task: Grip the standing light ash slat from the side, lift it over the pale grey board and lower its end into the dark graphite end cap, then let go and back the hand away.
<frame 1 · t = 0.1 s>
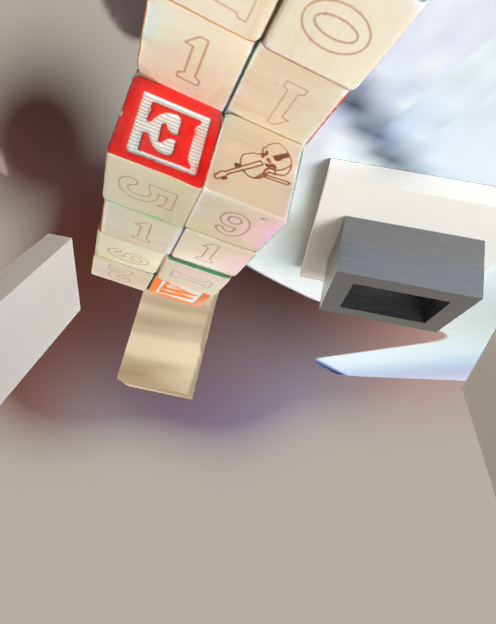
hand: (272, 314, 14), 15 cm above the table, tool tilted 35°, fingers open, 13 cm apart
base board: (398, 236, 36), on the table
end cap: (397, 253, 36), resting on base board
ash slat: (207, 201, 38), on the table
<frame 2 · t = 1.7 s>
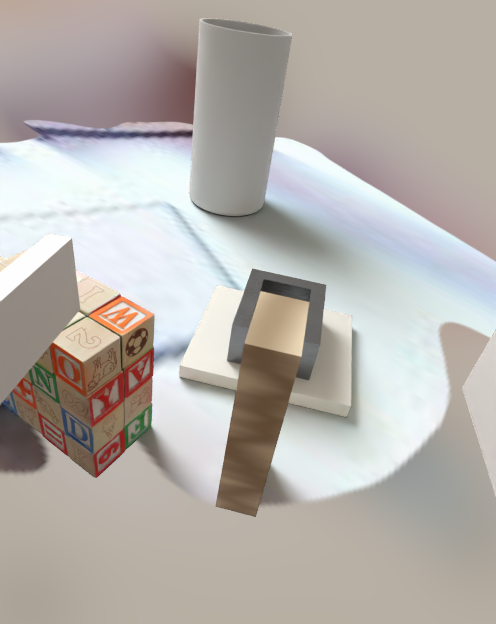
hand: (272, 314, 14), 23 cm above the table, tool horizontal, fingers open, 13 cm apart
base board: (272, 348, 47), on the table
end cap: (275, 337, 46), resting on base board
stack of blocks: (37, 389, 39), on the table
ash slat: (242, 481, 35), on the table
cylinder vase: (226, 202, 75), on the table
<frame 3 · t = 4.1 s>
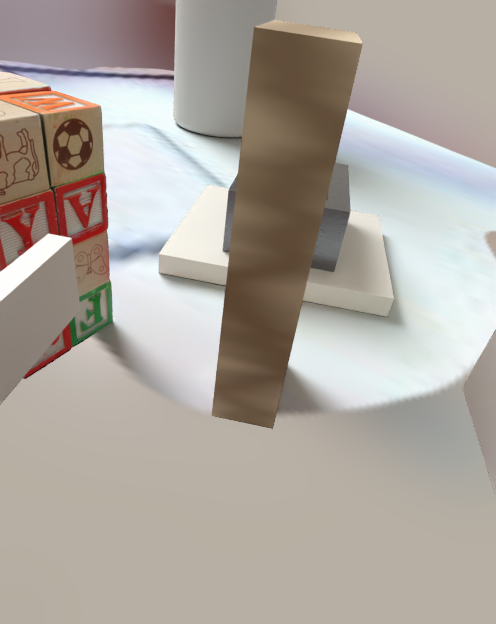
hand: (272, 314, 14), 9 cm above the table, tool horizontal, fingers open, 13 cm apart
base board: (281, 248, 37), on the table
end cap: (284, 231, 36), resting on base board
ash slat: (250, 385, 24), on the table
cylinder vase: (216, 127, 65), on the table
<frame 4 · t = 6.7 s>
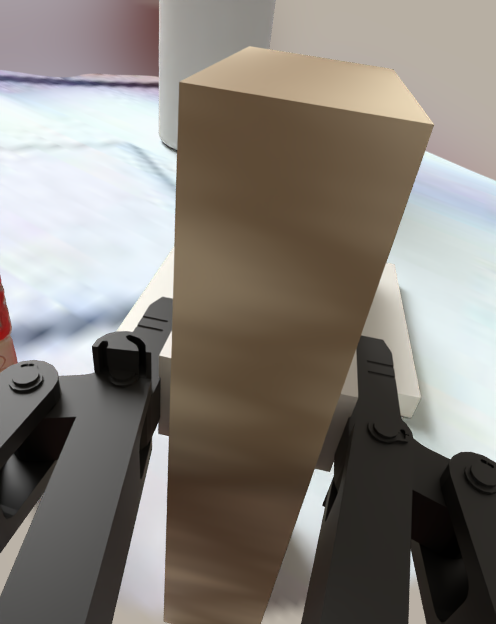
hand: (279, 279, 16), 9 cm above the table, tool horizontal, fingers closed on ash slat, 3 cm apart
base board: (275, 311, 30), on the table
ash slat: (224, 555, 17), on the table, touching gripper
cylinder vase: (207, 145, 58), on the table
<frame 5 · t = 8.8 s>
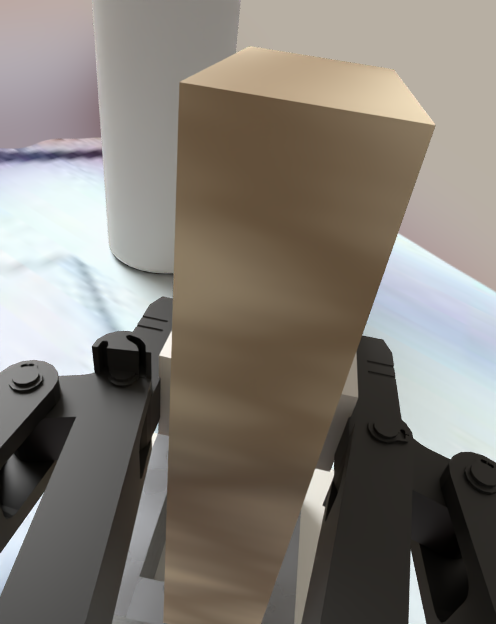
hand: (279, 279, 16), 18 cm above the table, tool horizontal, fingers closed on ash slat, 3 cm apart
base board: (207, 569, 25), on the table
end cap: (209, 556, 24), resting on base board
ash slat: (224, 556, 17), point 9 cm above the table, touching gripper
cylinder vase: (164, 250, 53), on the table
when the fingers open (11 cm above the table, at t = 10.9 s): ash slat stays where it is, resting on base board.
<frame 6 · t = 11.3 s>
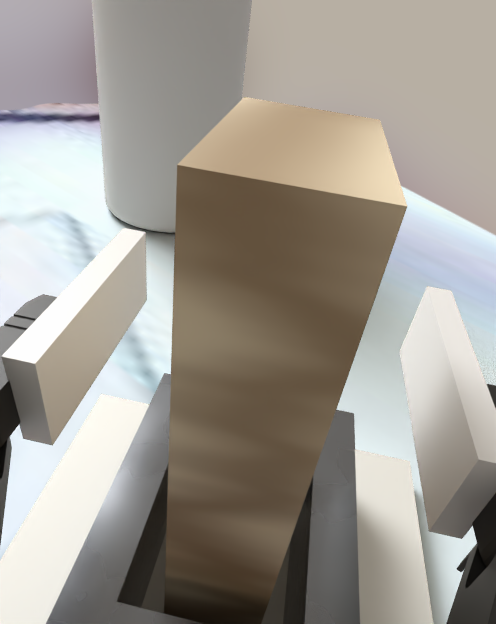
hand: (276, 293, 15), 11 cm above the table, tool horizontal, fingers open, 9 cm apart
base board: (218, 585, 18), on the table
end cap: (222, 567, 17), resting on base board
ash slat: (222, 568, 17), point 1 cm above the table, touching base board
cylinder vase: (169, 210, 47), on the table
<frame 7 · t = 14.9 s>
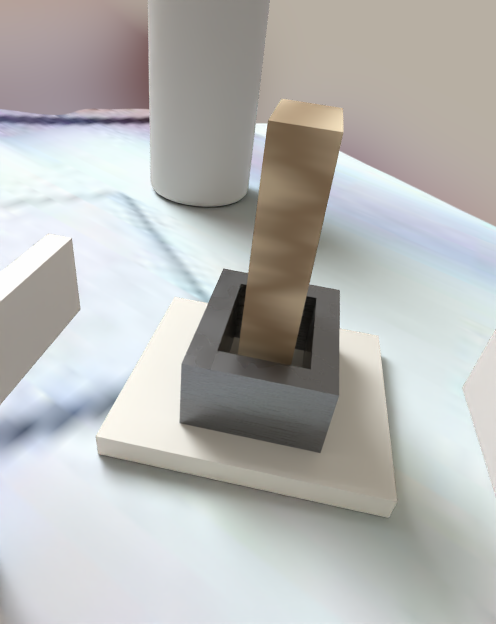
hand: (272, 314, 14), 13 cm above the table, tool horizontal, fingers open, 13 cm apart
base board: (259, 393, 30), on the table
end cap: (261, 377, 29), resting on base board
ash slat: (262, 377, 29), point 1 cm above the table, touching base board
cylinder vase: (199, 191, 59), on the table
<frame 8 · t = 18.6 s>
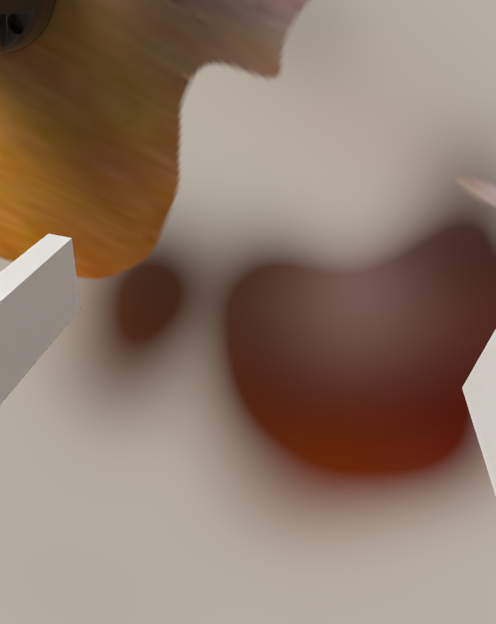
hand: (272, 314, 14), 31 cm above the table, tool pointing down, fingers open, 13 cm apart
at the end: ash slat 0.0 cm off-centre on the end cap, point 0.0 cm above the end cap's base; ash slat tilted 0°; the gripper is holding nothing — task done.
